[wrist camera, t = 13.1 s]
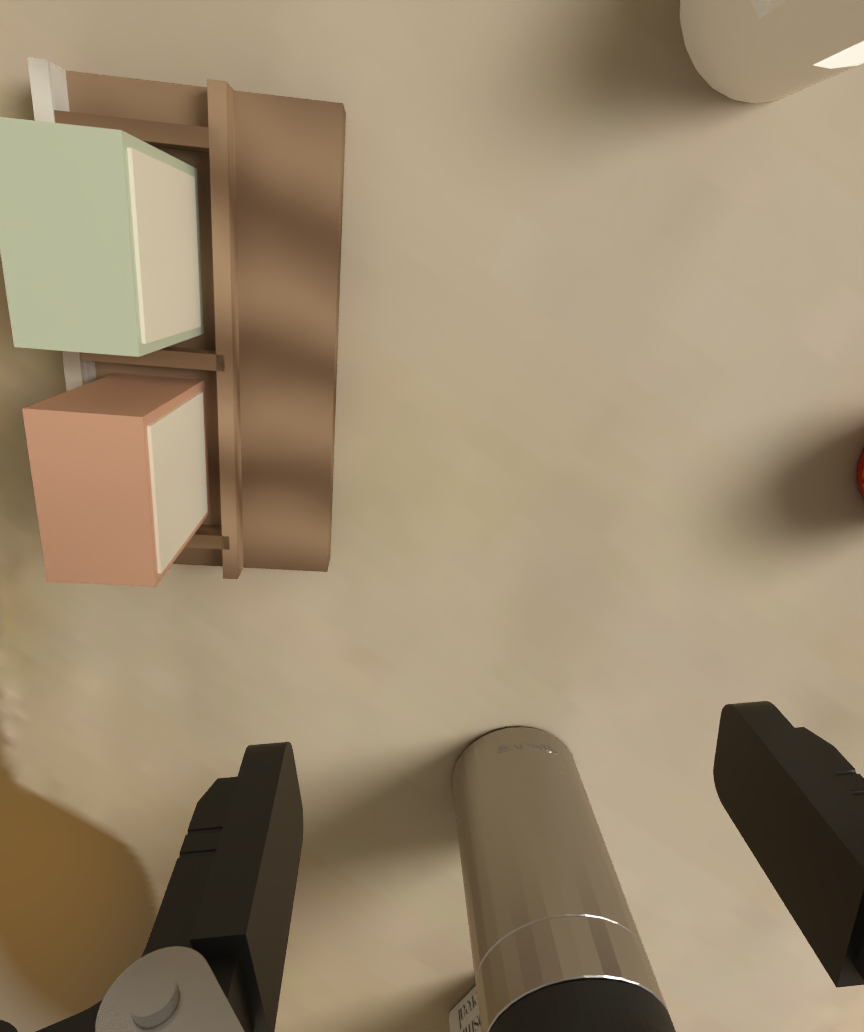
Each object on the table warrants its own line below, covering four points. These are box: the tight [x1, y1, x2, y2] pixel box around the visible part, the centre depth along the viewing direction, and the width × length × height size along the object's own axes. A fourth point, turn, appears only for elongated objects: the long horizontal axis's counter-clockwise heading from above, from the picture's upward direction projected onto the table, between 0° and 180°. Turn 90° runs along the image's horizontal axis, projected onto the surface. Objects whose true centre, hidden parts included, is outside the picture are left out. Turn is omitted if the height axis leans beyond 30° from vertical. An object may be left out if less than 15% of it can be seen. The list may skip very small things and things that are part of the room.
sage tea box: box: [0, 117, 204, 357], centre depth 27 cm, size 8×5×9 cm, turn 175°
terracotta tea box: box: [22, 373, 210, 587], centre depth 30 cm, size 8×5×9 cm, turn 175°
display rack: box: [27, 57, 346, 579], centre depth 33 cm, size 24×13×4 cm, turn 175°
